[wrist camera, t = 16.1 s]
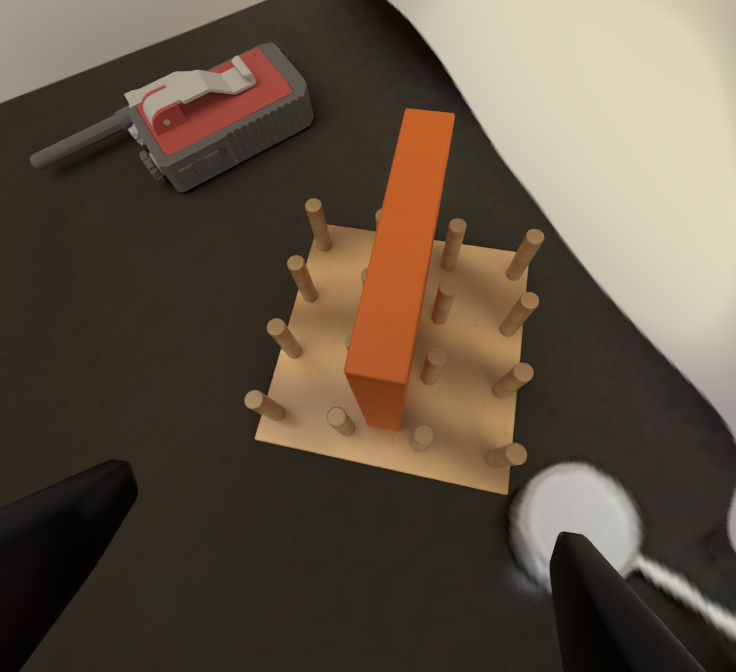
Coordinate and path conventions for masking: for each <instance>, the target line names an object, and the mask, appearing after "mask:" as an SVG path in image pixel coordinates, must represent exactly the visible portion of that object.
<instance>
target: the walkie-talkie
mask: <svg viewBox="0 0 736 672" xmlns="http://www.w3.org/2000/svg"><path fill="white" fill-rule="evenodd" d="M124 95H125V97H126V99H127V100H128V102H129V105H128V106H126V107H124V108H122V109H120V110H118V111H116V112H115V115H114V116H111V117H109V118H107V119H105V120H103V121H101V122H99V123H97V124H95V125H93V126H91V127H89V128H87V129H85V130H82V131H80V132H78V133H76V134H74V135H72V136H70V137H68V138H66V139H64V140H62V141H60V142H58V143H56V144H54V145H51V146H49V147H47V148H45V149H43V150H41V151H39V152H37V153H35V154H33V155H32V156H31V157H30V161H31V164H32V165H33V166H34V167H36V168H38V169H45V168H47V167H49V166H51V165H53V164H55V163H58V162H60V161H62V160H64V159H66V158H68V157H70V156H72V155H74V154H76V153H78V152H80V151H82V150H84V149H86V148H88V147H90V146H92V145H94V144H96V143H98V142H100V141H102V140H104V139H106V138H108V137H110V136H112V135H114V134H117V133H119V132H121V131H123V130H127V131H128V130H129V132H130V133H131V135H132V136H133V137H134V138H135V140H136V141H138V143H140V145H141V146H144V145H146V146H147V147H148V149H149V151H150V152H151V153H148V152H147V151H145V150H144V151H142V152H140V158H141V160H142V161H143V163H144V164H145V166H146V167H147V168H148V170H149V171H150V173H151V174H152V176H153V177H154V178H155V179H156V181H158V182H160V183H161V182H163V181H165V177H164V175H166V176H167V178H168V179H169V180H170V182H171V183H172V184H173V186H174V187H175V188H176V190H177V191H178V192H186V191H188V190H189V189H191V188H193V187H195V186H197V185H199V184H201V183H203V182H205V181H207V180H208V179H210V178H212V177H214V176H216V175H218V174H220V173H222V172H224V171H225V170H227V169H229V168H231V167H233V166H235V165H237V164H239V163H240V162H242V161H244V160H246V159H248V158H249V157H252V156H253V155H255V154H258V153H260V152H261V151H263V150H265V149H266V148H268V147H271V146H273V145H274V144H276V143H279V142H280V141H282V140H284V139H286V138H287V137H289V136H292V135H293V134H295V133H298V132H299V131H301V130H303V129H305V128H306V127H308V126H310V125H311V123H312V120H313V117H314V115H313V110H312V106H311V101H310V96H309V92H308V87H307V84H306V82H305V80H304V78H303V77H302V76H301V74H300V73H299V72H298V71H297V70H296V69H295V67H294V66H293V65H292V64H291V59H290V55H289V52H288V50H286V49H283V48H278V47H277V46H276V45H275V44H274V43H267V44H260V45H259V46H257V47H254V48H253V49H251V50H248V51H246V52H244V53H242V54H240V55H238V56H235V57H234V58H232V59H230V60H227V61H226V62H224V63H221V64H220V65H218V66H215V67H213V68H211V69H209V70H207V71H201V70H194V71H187V72H174V73H172V74H169V75H167V76H165V77H163V78H161V79H159V80H157V81H155V82H153V83H151V84H149V85H147V86H145V87H142V88H140V89H138V90H132V91H130V92H128V93H126V94H124Z"/></svg>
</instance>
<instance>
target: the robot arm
mask: <svg viewBox="0 0 736 672" xmlns="http://www.w3.org/2000/svg"><path fill="white" fill-rule="evenodd" d="M137 495H138V487H137V483H136V479H135V475H134V471H133V467H132V465H131V464H130V463H129V462H127V461H122V460H116V459H111V460H108V461H105V462H103V463H101V464H98V465H96V466H94V467H92V468H89V469H87V470H85V471H83V472H80V473H78V474H76V475H74V476H71V477H69V478H67V479H65V480H63V481H60V482H58V483H56V484H54V485H51V486H49V487H47V488H45V489H42V490H40V491H38V492H36V493H33V494H31V495H29V496H27V497H24V498H22V499H20V500H18V501H15V502H13V503H11V504H9V505H6V506H4V507H2V508H0V672H19V671H20V670H21V668H22V667H23V666H24V664H25V663H26V662H27V660H28V659H29V657H30V656H31V655H32V653H33V652H34V651H35V649H36V648H37V646H38V645H39V644H40V642H41V641H42V640H43V638H44V637H45V635H46V634H47V633H48V631H49V630H50V629H51V627H52V626H53V624H54V623H55V622H56V620H57V619H58V618H59V616H60V615H61V614H62V612H63V611H64V609H65V608H66V607H67V605H68V604H69V603H70V601H71V600H72V598H73V597H74V596H75V594H76V593H77V592H78V590H79V589H80V587H81V586H82V585H83V583H84V582H85V581H86V579H87V578H88V576H89V575H90V573H91V572H92V571H93V569H94V568H95V566H96V565H97V563H98V561H99V560H100V558H101V557H102V555H103V553H104V552H105V550H106V549H107V547H108V545H109V544H110V542H111V540H112V539H113V537H114V535H115V534H116V532H117V531H118V529H119V527H120V526H121V524H122V522H123V521H124V519H125V517H126V516H127V514H128V513H129V511H130V509H131V508H132V506H133V504H134V503H135V501H136V498H137ZM550 579H551V586H552V594H553V601H554V608H555V616H556V623H557V630H558V638H559V645H560V652H561V659H562V665H563V670H564V672H706V671H705V669H704V668H703V667H702V666H701V665H700V664H699V663H698V662H697V660H696V659H695V658H694V657H693V656H692V655H691V654H690V653H689V652H688V650H687V649H686V648H685V647H684V646H683V645H682V644H681V643H680V641H679V640H678V639H677V638H676V637H675V636H674V635H673V634H672V632H671V631H670V630H669V629H668V628H667V627H666V626H665V625H664V624H663V622H662V621H661V620H660V619H659V618H658V617H657V616H656V615H655V613H654V612H653V611H652V610H651V609H650V608H649V607H648V606H647V605H646V603H645V602H644V601H643V600H642V599H641V598H640V597H639V596H638V594H637V593H636V592H635V591H634V590H633V589H632V588H631V587H630V586H629V584H628V583H627V582H626V581H625V580H624V579H623V578H622V577H621V575H620V574H619V573H618V572H617V571H616V570H615V569H614V568H613V567H612V565H611V564H610V563H609V562H608V561H607V560H606V559H605V558H604V556H603V555H602V554H601V553H600V552H599V551H598V550H597V549H596V548H595V546H594V545H593V544H592V543H591V542H590V541H589V540H588V539H587V538H586V537H585V536H584V535H581V534H576V533H570V532H560V533H559V535H558V537H557V540H556V543H555V547H554V550H553V553H552V557H551V560H550Z"/></svg>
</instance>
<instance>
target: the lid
mask: <svg viewBox="0 0 736 672" xmlns="http://www.w3.org/2000/svg"><path fill="white" fill-rule="evenodd" d="M454 119H455V114H454V113H446V112H437V111H427V110H418V109H408V108H407V109H406V110H405V113H404V117H403V121H402V125H401V130H400V134H399V138H398V142H397V147H396V151H395V155H394V159H393V164H392V168H391V172H390V176H389V180H388V185H387V189H386V193H385V197H384V202H383V206H382V210H381V214H380V219H379V223H378V227H377V231H376V236H375V240H374V244H373V248H372V252H371V257H370V261H369V265H368V269H367V274H366V278H365V282H364V286H363V291H362V295H361V299H360V303H359V308H358V312H357V316H356V320H355V325H354V329H353V333H352V337H351V341H350V346H349V350H348V354H347V358H346V363H345V367H344V373H345V376H346V378H347V380H348V382H349V385H350V387H351V389H352V391H353V394H354V396H355V398H356V400H357V403H358V405H359V407H360V409H361V412H362V414H363V416H364V418H365V421H366V423H367V425H371V426H376V427H380V428H385V429H390V430H395V431H400V428H401V422H402V417H403V411H404V405H405V400H406V394H407V389H408V383H409V377H410V372H411V366H412V361H413V355H414V350H415V344H416V338H417V333H418V327H419V322H420V316H421V311H422V305H423V299H424V294H425V288H426V283H427V277H428V272H429V266H430V260H431V254H432V248H433V242H434V237H435V231H436V225H437V219H438V213H439V207H440V201H441V196H442V190H443V184H444V178H445V172H446V166H447V160H448V154H449V149H450V143H451V137H452V131H453V125H454Z"/></svg>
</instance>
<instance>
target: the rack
mask: <svg viewBox="0 0 736 672" xmlns="http://www.w3.org/2000/svg"><path fill="white" fill-rule="evenodd" d="M305 208H306V211H307V214H308V217H309V221H310V224H311V227H312V230H313V233H314V236H315V237H314V240H313V243H312V247H311V250H310V253H309V257H308V260H307V264H306V263H305V261H304V259H303V258H302V257H301V256H298V255H294V256H292V257H290V258H289V260H288V262H287V266H288V268H289V270H290V272H291V274H292V276H293V278H294V280H295V282H296V284H297V286H298V288H299V291H298V294H297V297H296V301H295V304H294V307H293V311H292V314H291V318H290V321H289V324H288V327H287V326H286V324H285V323H284V321H283V320H281V319H278V318H276V319H272V320H271V321H270V322H269V323H268V325H267V331H268V333H269V334H270V335H271V336H272V337H273V339H274V340H275V341H276V342H277V343H278V345H279V346H280V347H281V351H280V355H279V358H278V361H277V365H276V368H275V372H274V375H273V378H272V382H271V385H270V389H269V392H268V395H267V396H266V395H265V394H263V393H262V392H260V391H259V390H252V391H250V392H248V393H247V394H246V396H245V400H244V402H245V405H246V406H247V407H248V408H249V409H251V410H253V411H255V412H257V413H259V414H261V415H262V416H261V419H260V422H259V426H258V429H257V432H256V436H255V440H258V441H262V442H267V443H271V444H276V445H280V446H285V447H289V448H294V449H298V450H303V451H308V452H312V453H317V454H321V455H326V456H330V457H335V458H339V459H344V460H348V461H353V462H357V463H362V464H366V465H371V466H376V467H380V468H385V469H389V470H394V471H398V472H403V473H407V474H412V475H416V476H421V477H425V478H430V479H434V480H439V481H444V482H448V483H453V484H457V485H462V486H466V487H471V488H475V489H480V490H484V491H489V492H493V493H498V494H502V495H507V494H508V486H509V475H510V466H515V465H521V464H523V463H524V462H525V461H526V459H527V452H526V450H525V448H524V447H523V446H522V445H521V444H518V443H512V441H513V430H514V419H515V408H516V397H517V390H518V389H519V388H520V387H522V386H523V385H524V384H526V383H527V382H528V381H530V380H531V379H532V378H533V375H534V372H533V369H532V367H531V366H530V365H529V364H527V363H520V353H521V342H522V331H523V323H524V322H525V321H526V319H527V318H528V317H529V316H530V315H531V313H532V312H533V311H534V310H535V308H536V307H537V306H538V304H539V298H538V297H537V295H536V294H534V293H532V292H526V286H527V275H528V264H529V263H530V261H531V260H532V258H533V256H534V255H535V253H536V252H537V250H538V248H539V247H540V245H541V244H542V242H543V240H544V234H543V233H542V232H541V231H540V230H538V229H531V230H529V231H528V232H527V233H526V235H525V237H524V239H523V241H522V243H521V245H520V246H519V248H518V250H517V252H512V251H505V250H498V249H491V248H484V247H478V246H471V245H464V244H462V241H463V237H464V234H465V231H466V223H465V221H464V220H462V219H458V218H457V219H453V220H452V221H451V222H450V223H449V227H448V232H447V236H446V241H445V242H443V241H437V240H434V242H433V248H432V254H431V260H430V266H429V272H428V277H427V283H426V288H425V294H424V299H423V305H422V311H421V316H420V322H419V327H418V333H417V338H416V344H415V350H414V355H413V361H412V366H411V372H410V377H409V383H408V389H407V394H406V400H405V405H404V411H403V417H402V422H401V428H400V431H395V430H390V429H385V428H380V427H376V426H371V425H367V423H366V421H365V418H364V416H363V414H362V412H361V409H360V407H359V405H358V403H357V400H356V398H355V396H354V394H353V391H352V389H351V387H350V385H349V382H348V380H347V378H346V376H345V373H344V367H345V363H346V358H347V354H348V350H349V346H350V341H351V337H352V333H353V329H354V325H355V320H356V316H357V312H358V308H359V303H360V299H361V295H362V291H363V286H364V282H365V278H366V274H367V269H368V265H369V261H370V257H371V252H372V248H373V244H374V240H375V236H376V232H375V231H368V230H362V229H355V228H348V227H341V226H334V225H328V224H327V223H326V219H325V216H324V212H323V208H322V204H321V202H320V201H319V200H318V199H310V200H308V201H307V202H306V205H305ZM381 210H382V209H379V210H378V211H377V212H376V215H375V217H376V231H377V227H378V223H379V219H380V214H381Z"/></svg>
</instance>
